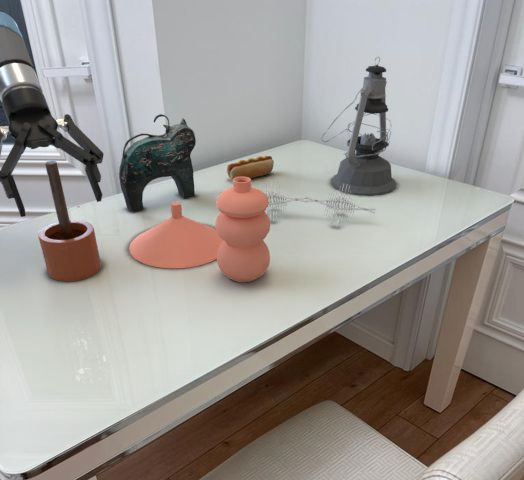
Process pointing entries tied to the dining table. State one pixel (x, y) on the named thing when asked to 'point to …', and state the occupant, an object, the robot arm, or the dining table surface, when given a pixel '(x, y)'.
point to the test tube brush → (315, 201)
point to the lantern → (367, 143)
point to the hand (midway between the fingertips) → (62, 205)
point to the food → (250, 167)
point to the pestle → (59, 200)
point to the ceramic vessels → (213, 236)
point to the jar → (70, 251)
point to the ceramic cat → (157, 163)
